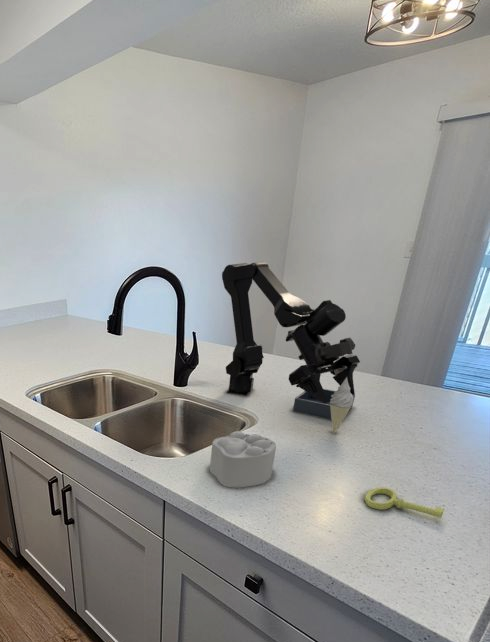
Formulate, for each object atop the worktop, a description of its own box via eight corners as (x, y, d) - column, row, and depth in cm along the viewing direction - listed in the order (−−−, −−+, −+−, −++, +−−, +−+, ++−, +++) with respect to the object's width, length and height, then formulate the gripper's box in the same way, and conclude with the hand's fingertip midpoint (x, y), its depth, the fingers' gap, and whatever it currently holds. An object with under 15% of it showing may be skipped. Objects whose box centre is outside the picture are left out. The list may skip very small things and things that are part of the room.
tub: (292, 411, 125) (294, 398, 123) (308, 398, 133) (310, 386, 131) (338, 421, 118) (341, 407, 116) (352, 407, 125) (355, 394, 123)
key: (443, 524, 78) (447, 514, 77) (363, 507, 84) (366, 497, 83) (438, 503, 83) (442, 494, 82) (364, 488, 89) (366, 479, 88)
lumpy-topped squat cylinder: (205, 466, 101) (208, 432, 97) (256, 458, 102) (261, 425, 98) (226, 490, 91) (230, 453, 87) (282, 481, 93) (289, 445, 89)
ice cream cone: (343, 429, 113) (356, 374, 106) (346, 438, 109) (360, 381, 102) (321, 427, 115) (333, 373, 108) (324, 436, 110) (336, 380, 104)
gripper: (306, 333, 102) (337, 391, 98) (361, 322, 108) (393, 376, 104) (275, 358, 112) (303, 411, 108) (328, 347, 118) (356, 397, 114)
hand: (339, 399), depth 108 cm, fingers open, 9 cm apart
